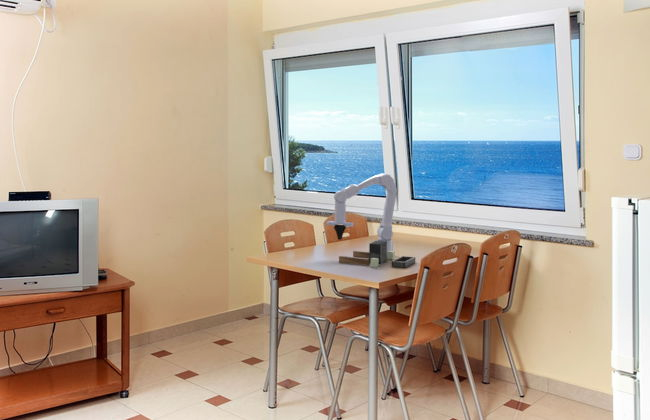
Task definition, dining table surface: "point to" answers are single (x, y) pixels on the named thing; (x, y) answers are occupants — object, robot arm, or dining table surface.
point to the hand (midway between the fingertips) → (339, 239)
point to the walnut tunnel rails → (354, 259)
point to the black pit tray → (403, 262)
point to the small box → (378, 251)
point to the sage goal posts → (376, 260)
